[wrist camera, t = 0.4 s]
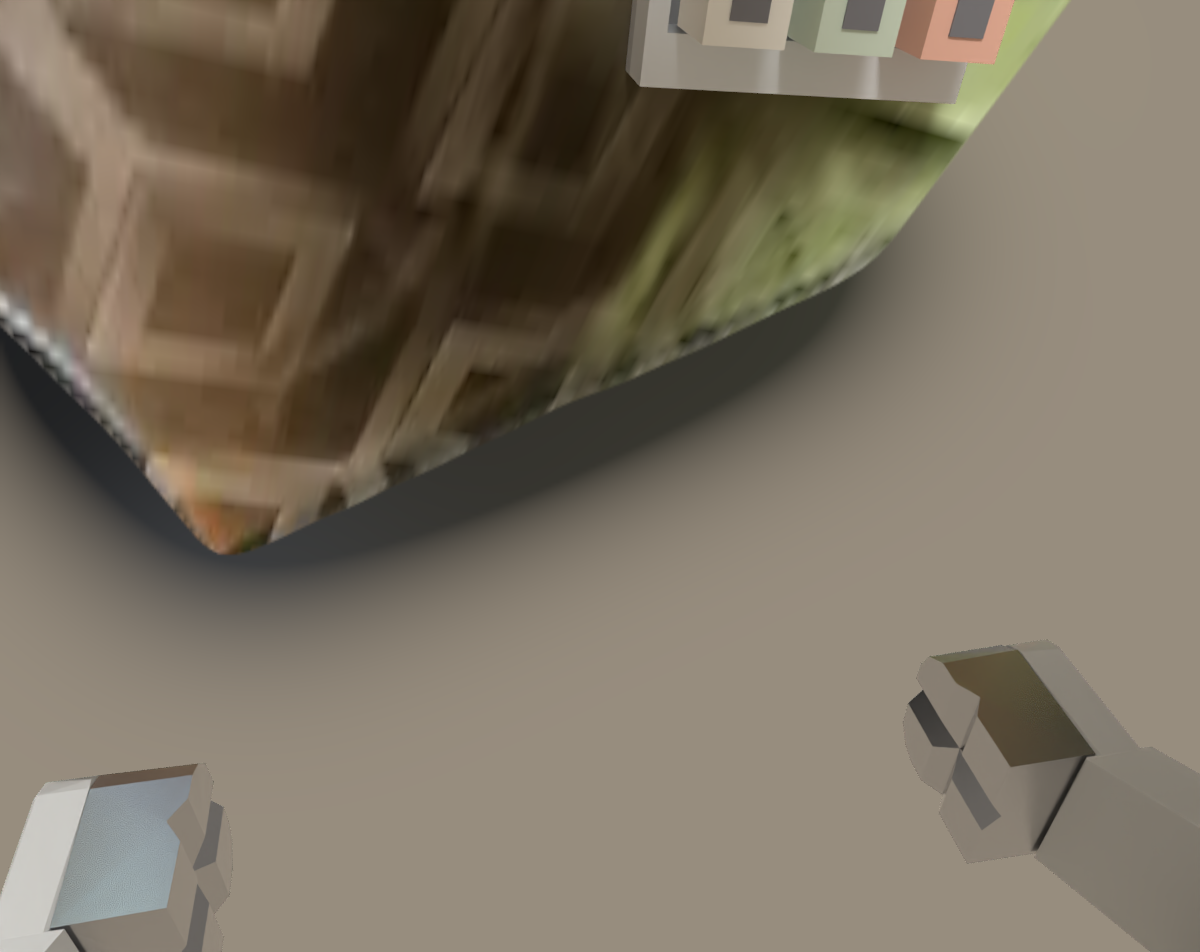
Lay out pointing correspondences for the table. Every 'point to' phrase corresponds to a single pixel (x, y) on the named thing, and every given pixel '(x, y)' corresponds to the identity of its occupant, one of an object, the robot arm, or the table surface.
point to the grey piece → (776, 65)
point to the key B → (847, 26)
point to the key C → (954, 29)
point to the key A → (737, 22)
